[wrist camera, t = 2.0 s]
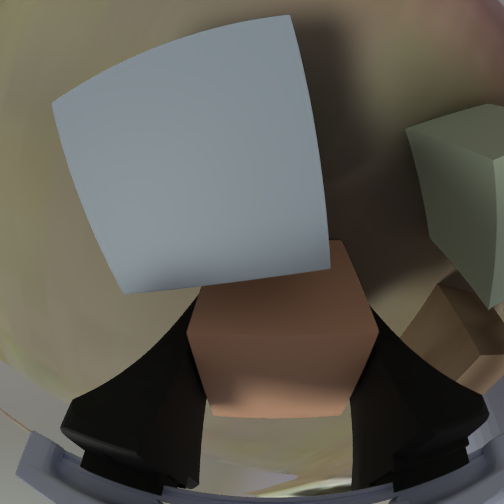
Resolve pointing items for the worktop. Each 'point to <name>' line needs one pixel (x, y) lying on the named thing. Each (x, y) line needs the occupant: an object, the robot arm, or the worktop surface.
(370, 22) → the worktop surface
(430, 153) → the sage cube
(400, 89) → the worktop surface
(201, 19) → the worktop surface
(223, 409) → the terracotta cube
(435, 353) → the walnut cube
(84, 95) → the slate cube
